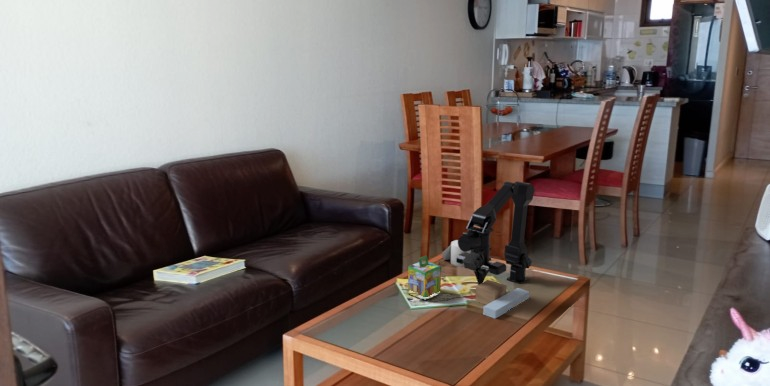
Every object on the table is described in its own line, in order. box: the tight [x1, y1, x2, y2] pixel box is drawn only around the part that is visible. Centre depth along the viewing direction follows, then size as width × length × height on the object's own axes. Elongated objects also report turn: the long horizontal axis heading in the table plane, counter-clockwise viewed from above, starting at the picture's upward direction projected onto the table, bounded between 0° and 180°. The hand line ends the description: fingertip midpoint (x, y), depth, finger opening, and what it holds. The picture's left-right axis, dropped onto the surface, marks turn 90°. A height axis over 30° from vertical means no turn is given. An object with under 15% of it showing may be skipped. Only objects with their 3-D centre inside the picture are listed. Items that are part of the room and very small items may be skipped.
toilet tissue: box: [441, 239, 471, 267], centre depth 268 cm, size 9×13×9 cm
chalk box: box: [407, 255, 442, 297], centre depth 235 cm, size 9×9×15 cm
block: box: [475, 279, 507, 306], centre depth 231 cm, size 8×8×6 cm
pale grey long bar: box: [482, 287, 530, 319], centre depth 226 cm, size 22×5×3 cm, turn 136°
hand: (480, 284), depth 233 cm, fingers closed
